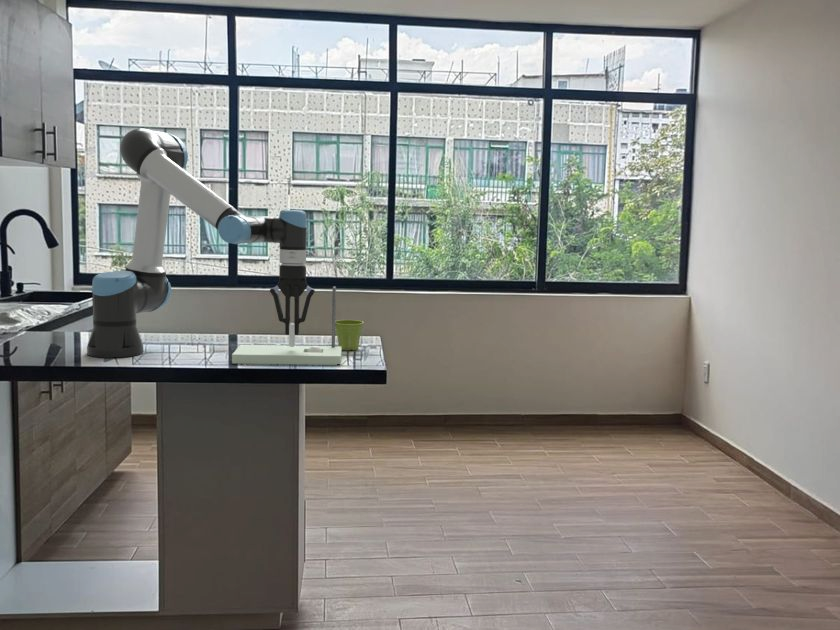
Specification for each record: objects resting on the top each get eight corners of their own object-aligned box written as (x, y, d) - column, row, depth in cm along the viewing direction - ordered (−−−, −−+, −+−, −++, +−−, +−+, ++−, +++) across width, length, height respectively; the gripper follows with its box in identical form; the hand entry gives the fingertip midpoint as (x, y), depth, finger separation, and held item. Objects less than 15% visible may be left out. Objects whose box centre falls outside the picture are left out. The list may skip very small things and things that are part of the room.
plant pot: (355, 352, 235) (356, 324, 234) (328, 350, 238) (328, 322, 237) (368, 348, 244) (368, 321, 243) (341, 345, 247) (341, 319, 246)
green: (232, 363, 212) (232, 289, 210) (242, 350, 232) (242, 283, 229) (340, 364, 215) (341, 292, 213) (341, 352, 234) (342, 285, 232)
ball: (314, 344, 220) (324, 354, 220) (315, 341, 224) (325, 351, 224) (304, 353, 220) (314, 363, 220) (305, 351, 224) (314, 360, 224)
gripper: (268, 264, 214) (267, 347, 217) (315, 265, 215) (314, 348, 218) (271, 263, 221) (270, 343, 224) (316, 264, 223) (315, 344, 226)
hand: (292, 345), depth 221 cm, fingers closed
